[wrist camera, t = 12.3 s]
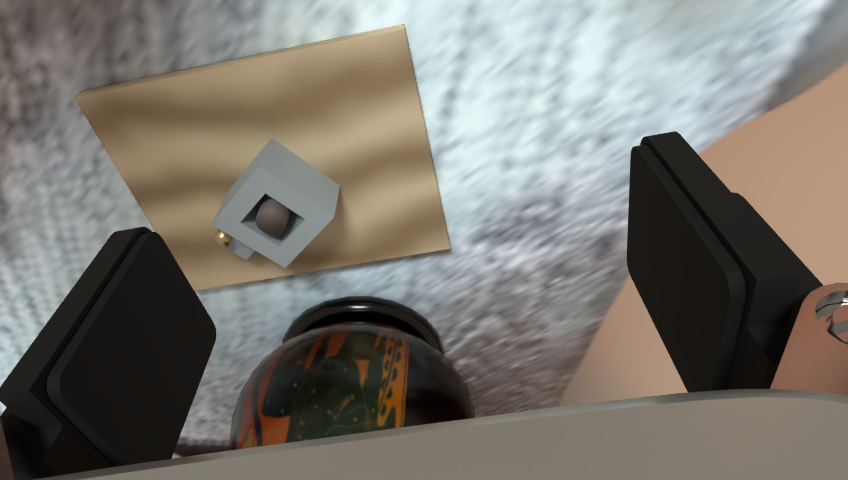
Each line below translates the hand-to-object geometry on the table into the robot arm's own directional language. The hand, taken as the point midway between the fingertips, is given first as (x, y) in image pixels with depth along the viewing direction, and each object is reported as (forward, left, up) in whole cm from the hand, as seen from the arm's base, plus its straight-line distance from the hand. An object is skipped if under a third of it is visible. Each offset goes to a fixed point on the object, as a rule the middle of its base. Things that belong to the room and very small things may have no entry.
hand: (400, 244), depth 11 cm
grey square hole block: (+15, -14, -29) cm, 36 cm away
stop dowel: (+16, -18, -29) cm, 38 cm away
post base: (+14, -13, -30) cm, 36 cm away
